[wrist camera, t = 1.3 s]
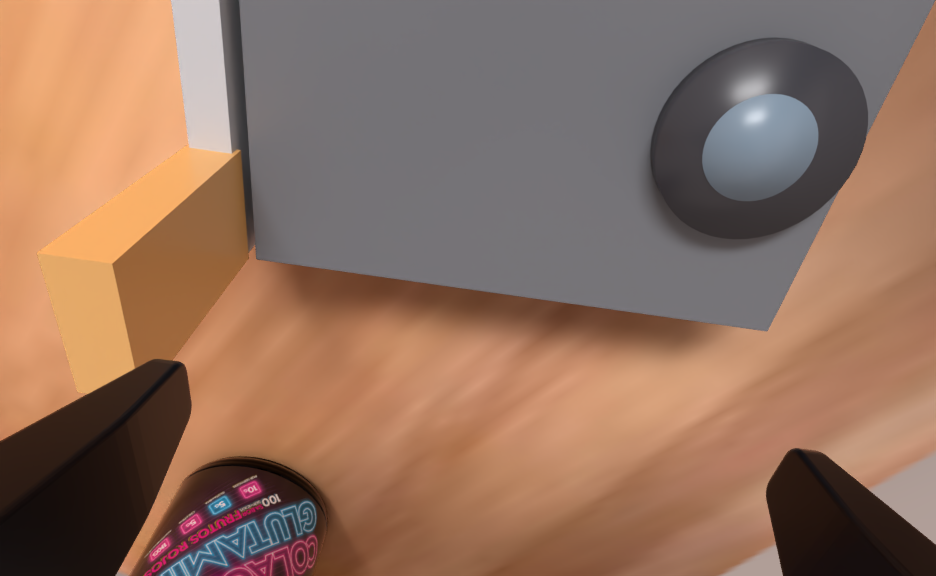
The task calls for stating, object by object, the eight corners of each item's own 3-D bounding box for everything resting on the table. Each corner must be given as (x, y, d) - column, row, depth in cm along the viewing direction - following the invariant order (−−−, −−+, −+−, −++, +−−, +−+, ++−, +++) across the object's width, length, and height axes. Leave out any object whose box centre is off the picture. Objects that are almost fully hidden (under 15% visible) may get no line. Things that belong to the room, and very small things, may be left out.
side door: (274, -234, 13) (-43, -446, 5) (288, 205, 19) (141, 400, 11) (220, -242, 13) (-176, -470, 5) (249, 200, 19) (77, 392, 11)
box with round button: (883, -98, 14) (1012, -104, 10) (726, 267, 19) (776, 345, 16) (285, -196, 13) (208, -238, 10) (295, 205, 19) (247, 271, 15)
